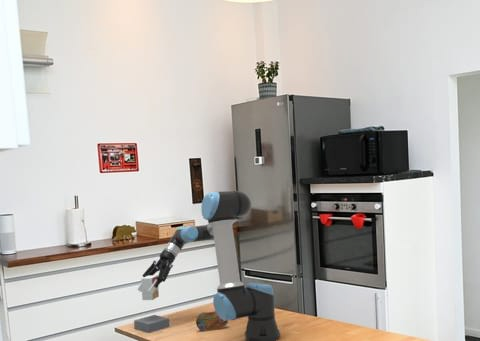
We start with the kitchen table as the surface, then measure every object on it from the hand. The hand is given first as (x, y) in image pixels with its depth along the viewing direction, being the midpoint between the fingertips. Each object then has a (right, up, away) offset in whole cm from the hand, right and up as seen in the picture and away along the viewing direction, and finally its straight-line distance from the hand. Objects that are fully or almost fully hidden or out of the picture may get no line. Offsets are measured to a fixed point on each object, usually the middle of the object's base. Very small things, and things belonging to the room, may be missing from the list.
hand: (144, 291), depth 231 cm
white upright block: (+2, -4, +2) cm, 5 cm away
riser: (+3, -18, +1) cm, 18 cm away
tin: (+33, -16, -7) cm, 37 cm away
